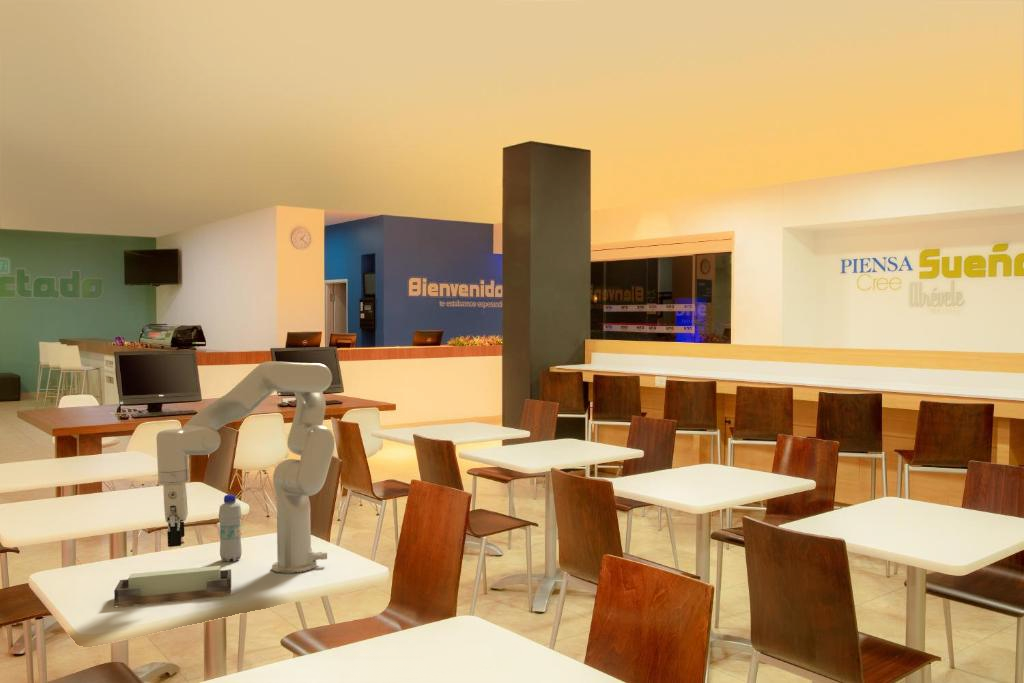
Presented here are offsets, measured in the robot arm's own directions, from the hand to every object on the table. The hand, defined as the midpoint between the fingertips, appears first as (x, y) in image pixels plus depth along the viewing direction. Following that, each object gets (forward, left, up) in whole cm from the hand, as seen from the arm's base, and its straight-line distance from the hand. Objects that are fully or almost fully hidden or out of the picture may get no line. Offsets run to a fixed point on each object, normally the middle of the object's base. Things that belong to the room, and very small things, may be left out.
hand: (176, 541), depth 214 cm
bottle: (-13, -32, -14) cm, 37 cm away
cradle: (0, 0, -14) cm, 14 cm away
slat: (0, 0, -13) cm, 13 cm away
